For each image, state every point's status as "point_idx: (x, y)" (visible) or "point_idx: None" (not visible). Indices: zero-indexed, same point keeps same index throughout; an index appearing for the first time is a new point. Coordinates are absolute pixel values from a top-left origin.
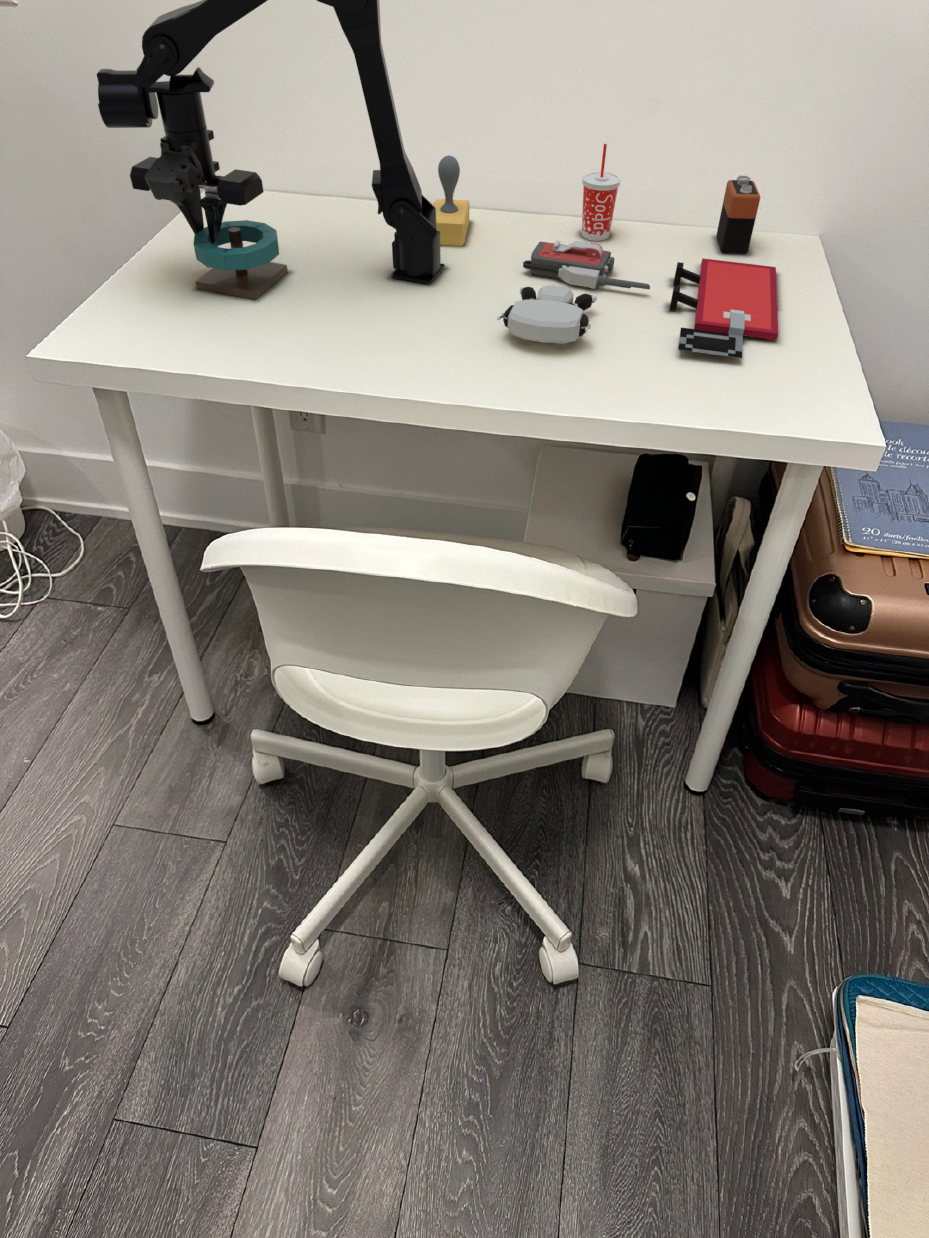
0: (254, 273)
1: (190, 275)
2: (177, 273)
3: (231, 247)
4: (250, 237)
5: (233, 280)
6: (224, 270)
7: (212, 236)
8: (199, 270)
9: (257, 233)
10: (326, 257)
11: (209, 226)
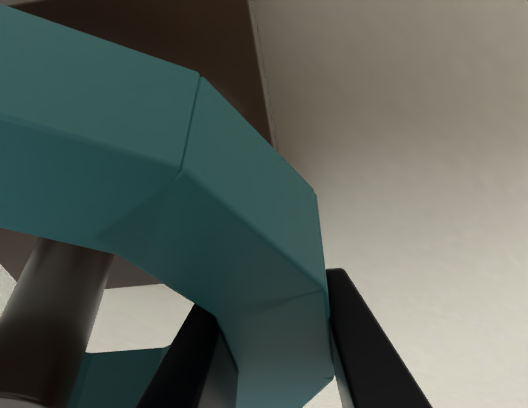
0: None
1: (400, 81)
2: (489, 65)
3: (60, 282)
4: (126, 374)
5: None
6: None
7: (193, 321)
8: (385, 143)
9: None
10: None
11: (176, 401)
